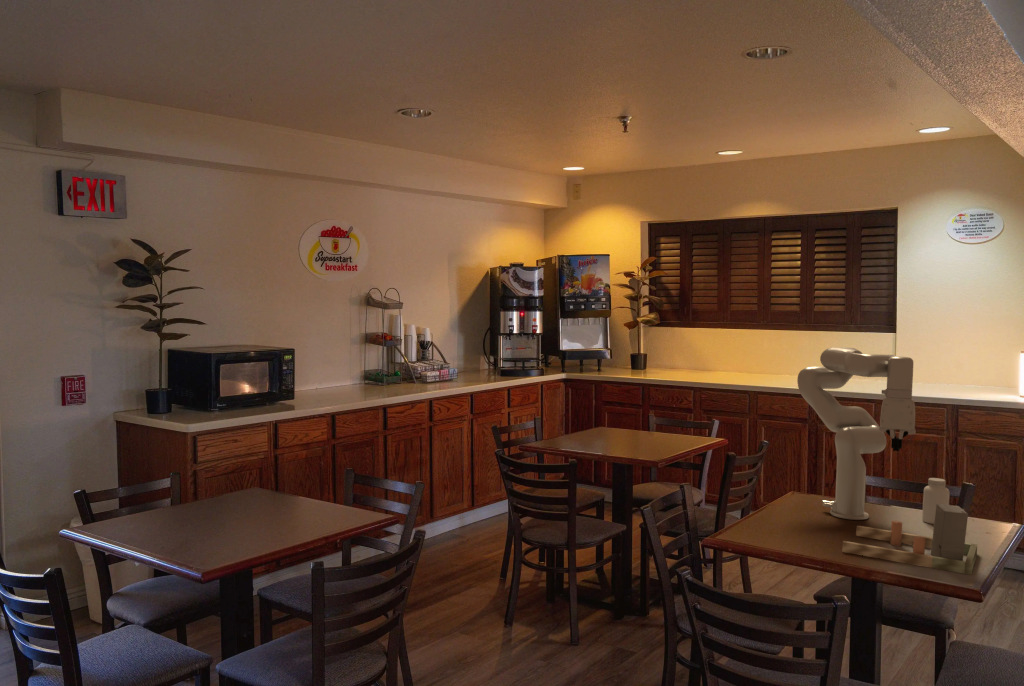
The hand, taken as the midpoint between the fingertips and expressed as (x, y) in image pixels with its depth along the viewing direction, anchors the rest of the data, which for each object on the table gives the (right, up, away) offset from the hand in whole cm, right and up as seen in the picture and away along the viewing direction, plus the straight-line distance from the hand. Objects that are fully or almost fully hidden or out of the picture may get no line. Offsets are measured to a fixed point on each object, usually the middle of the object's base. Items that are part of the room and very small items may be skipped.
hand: (896, 450), depth 262 cm
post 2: (-8, -28, -29) cm, 42 cm away
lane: (-7, -28, -21) cm, 36 cm away
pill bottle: (+21, -27, +16) cm, 38 cm away
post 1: (-6, -28, -13) cm, 31 cm away
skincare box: (+1, -29, -28) cm, 40 cm away
